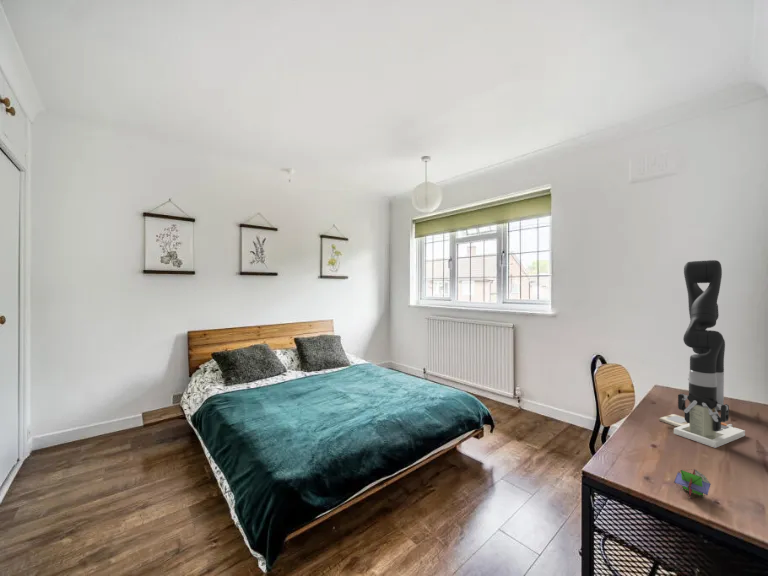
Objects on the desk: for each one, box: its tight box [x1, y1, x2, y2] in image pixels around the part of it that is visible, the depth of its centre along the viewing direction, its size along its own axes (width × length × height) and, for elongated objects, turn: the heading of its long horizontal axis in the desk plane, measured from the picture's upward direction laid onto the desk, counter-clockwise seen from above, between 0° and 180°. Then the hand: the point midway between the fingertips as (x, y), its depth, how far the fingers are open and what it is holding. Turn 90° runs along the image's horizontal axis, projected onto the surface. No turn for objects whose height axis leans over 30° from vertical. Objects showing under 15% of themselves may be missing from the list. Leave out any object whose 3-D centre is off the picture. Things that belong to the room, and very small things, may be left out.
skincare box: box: [688, 401, 716, 439], centre depth 122 cm, size 6×4×12 cm
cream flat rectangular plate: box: [658, 413, 688, 427], centre depth 135 cm, size 11×8×1 cm
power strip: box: [673, 422, 746, 449], centre depth 125 cm, size 28×12×3 cm, turn 114°
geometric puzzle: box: [673, 468, 712, 499], centre depth 89 cm, size 7×7×8 cm
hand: (702, 426), depth 122 cm, fingers closed on skincare box, 7 cm apart
